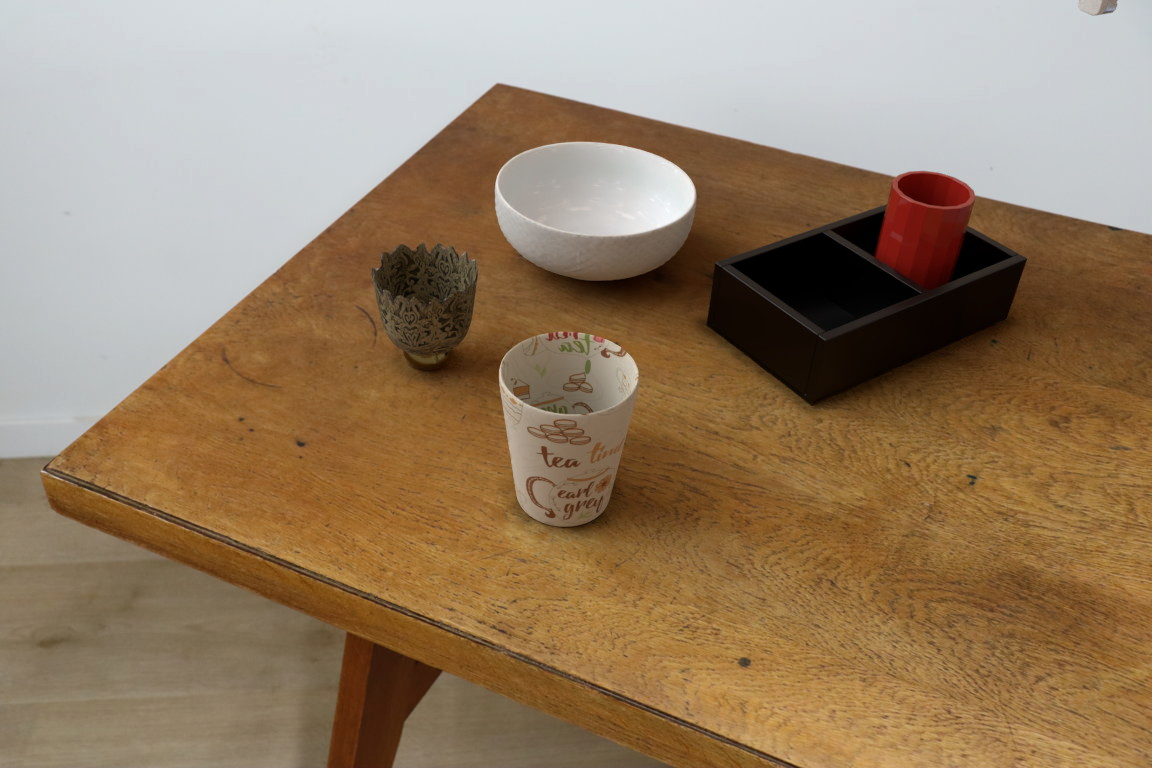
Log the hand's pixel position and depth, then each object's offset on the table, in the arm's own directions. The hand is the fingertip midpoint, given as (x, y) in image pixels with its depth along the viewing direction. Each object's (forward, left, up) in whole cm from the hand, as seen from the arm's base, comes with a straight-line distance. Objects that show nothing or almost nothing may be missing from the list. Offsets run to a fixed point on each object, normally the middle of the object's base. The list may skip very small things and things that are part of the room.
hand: (1148, 4), depth 72 cm
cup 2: (+5, -9, -26) cm, 28 cm away
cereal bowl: (+23, -28, -27) cm, 45 cm away
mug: (+40, -6, -27) cm, 49 cm away
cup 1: (+42, -22, -27) cm, 55 cm away
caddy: (+10, -9, -27) cm, 30 cm away
